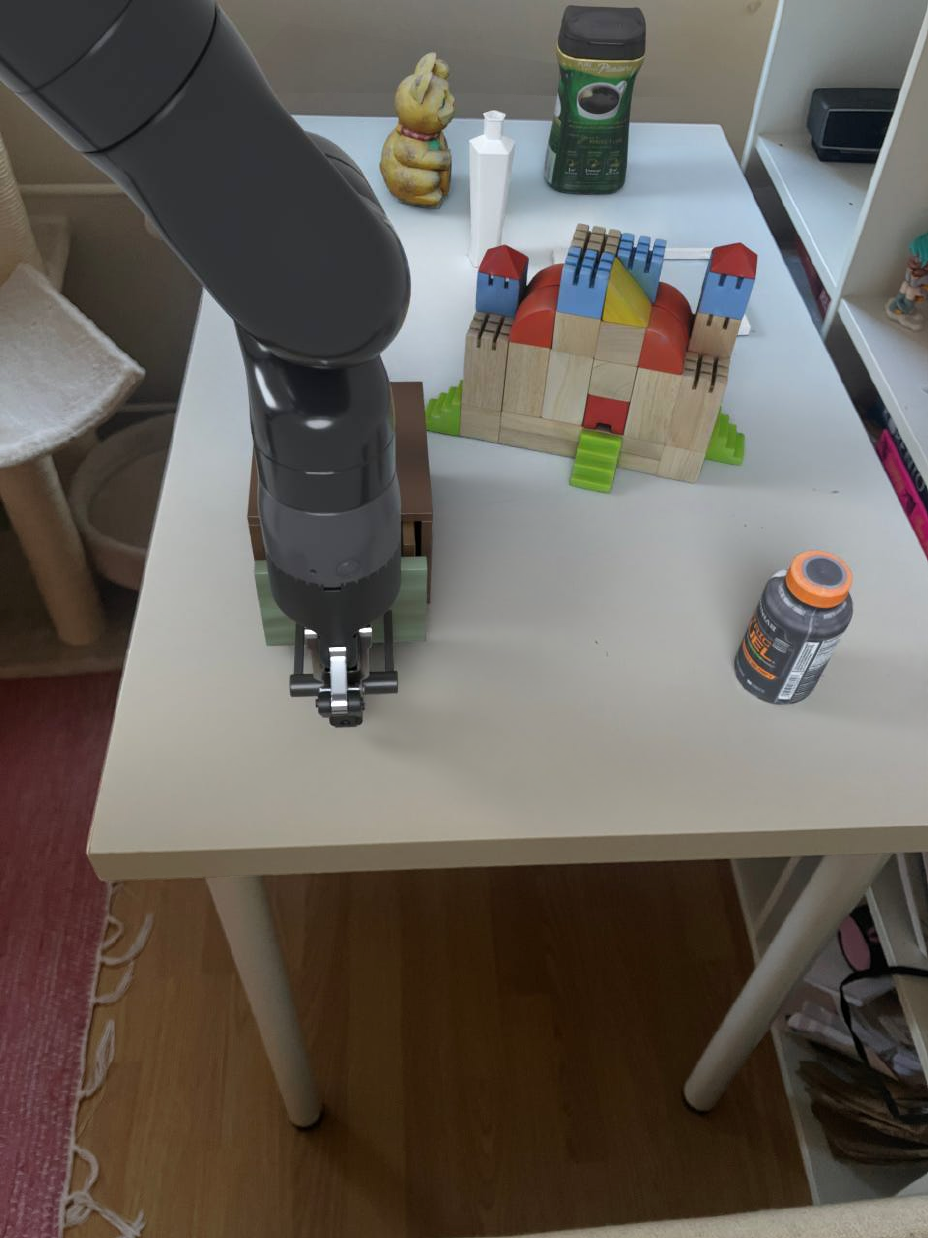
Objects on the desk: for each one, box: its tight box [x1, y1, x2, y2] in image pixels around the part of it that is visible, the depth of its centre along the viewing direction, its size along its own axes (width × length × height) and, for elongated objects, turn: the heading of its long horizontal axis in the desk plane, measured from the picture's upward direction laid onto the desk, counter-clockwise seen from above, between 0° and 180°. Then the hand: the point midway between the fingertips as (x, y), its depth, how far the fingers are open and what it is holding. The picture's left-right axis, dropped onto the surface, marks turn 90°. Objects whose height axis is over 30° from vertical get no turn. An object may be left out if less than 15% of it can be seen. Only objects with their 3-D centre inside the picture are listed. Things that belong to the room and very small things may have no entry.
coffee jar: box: [543, 4, 647, 195], centre depth 112 cm, size 10×8×19 cm
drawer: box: [253, 521, 428, 698], centre depth 71 cm, size 20×11×8 cm, turn 4°
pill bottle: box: [733, 549, 854, 706], centre depth 69 cm, size 6×6×11 cm
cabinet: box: [246, 381, 434, 604], centre depth 77 cm, size 15×13×10 cm
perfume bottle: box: [466, 109, 516, 268], centre depth 102 cm, size 5×4×15 cm
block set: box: [425, 222, 758, 494], centre depth 82 cm, size 28×14×19 cm, turn 76°
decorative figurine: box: [378, 51, 456, 209], centre depth 109 cm, size 10×8×15 cm
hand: (346, 708), depth 68 cm, fingers closed
